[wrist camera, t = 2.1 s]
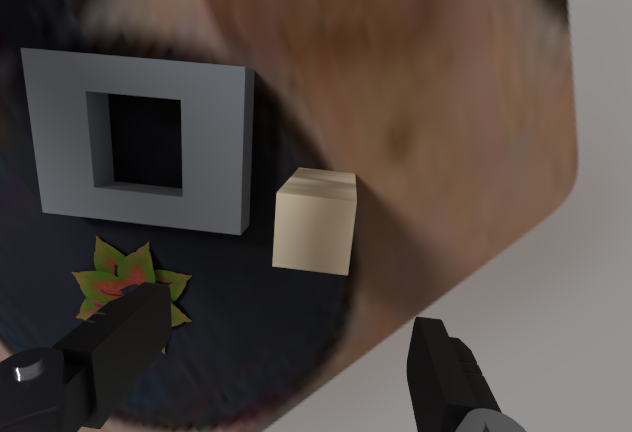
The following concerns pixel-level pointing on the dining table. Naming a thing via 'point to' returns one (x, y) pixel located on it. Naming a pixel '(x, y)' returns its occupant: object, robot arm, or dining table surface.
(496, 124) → the dining table surface
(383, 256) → the dining table surface
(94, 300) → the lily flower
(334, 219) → the peg
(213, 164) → the dock plate
